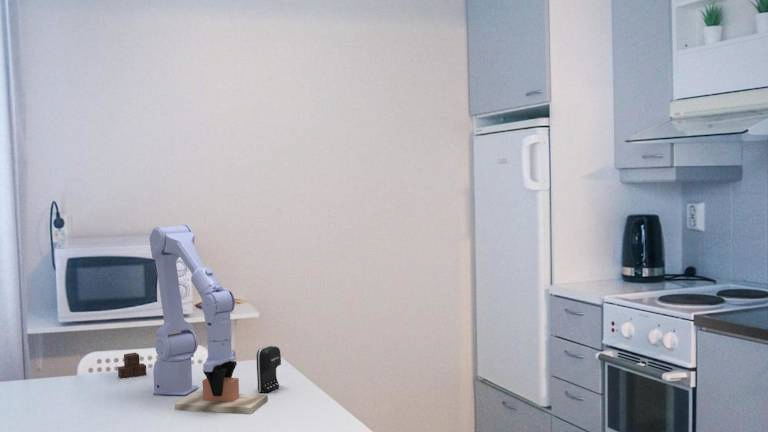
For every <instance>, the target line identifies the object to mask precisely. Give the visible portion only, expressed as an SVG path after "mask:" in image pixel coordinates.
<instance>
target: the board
mask: <svg viewBox="0 0 768 432" xmlns="http://www.w3.org/2000/svg"><path fill="white" fill-rule="evenodd" d="M268 395H269V394H260V393H259V394H258V393H239V398H238V399H237V400H235V401H234V402H225V401H203V391H194V392H193V391H192V392H191V393H189V394H187V395H186V396H185V397H184V398H183V397H182V399H180V400H178V401H177V402H175V403H174V404H173V405H174V411H186V412H187V411H190V412H208V413H209V412H211V413H227V414H228V413H230V414H245V415H247V414H250V415H251V414H253V413H254V412H255V411H256V410H257V409H259V408H260V407H261V406H263V405H264V404H265V403H267V402H268V401H269V396H268Z"/></svg>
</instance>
